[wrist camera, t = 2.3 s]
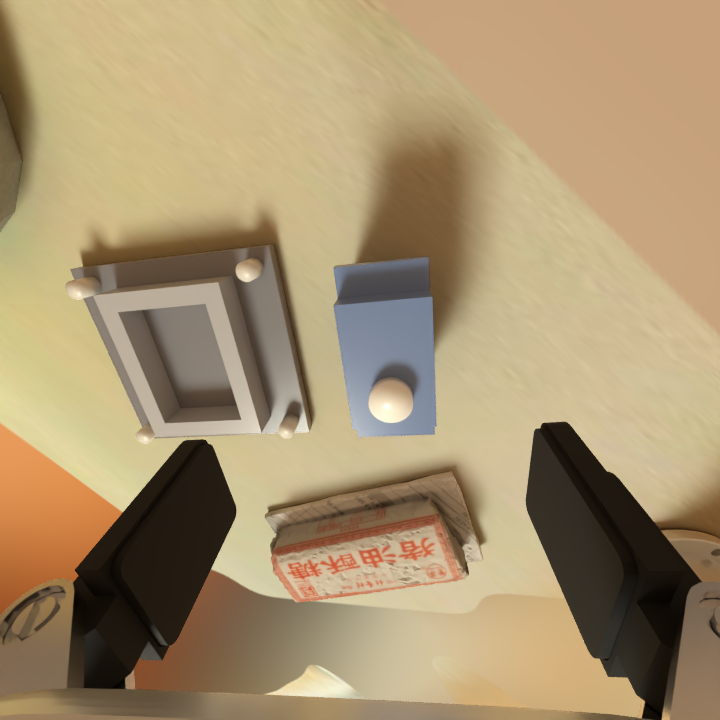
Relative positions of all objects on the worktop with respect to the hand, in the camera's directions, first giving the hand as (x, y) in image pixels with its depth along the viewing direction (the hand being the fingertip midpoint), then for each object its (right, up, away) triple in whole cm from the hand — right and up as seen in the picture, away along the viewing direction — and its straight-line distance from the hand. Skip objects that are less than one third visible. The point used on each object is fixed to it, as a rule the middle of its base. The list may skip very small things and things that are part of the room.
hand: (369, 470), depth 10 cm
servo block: (+2, +6, +13) cm, 15 cm away
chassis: (-12, +4, +16) cm, 20 cm away
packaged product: (+1, -12, +23) cm, 26 cm away
